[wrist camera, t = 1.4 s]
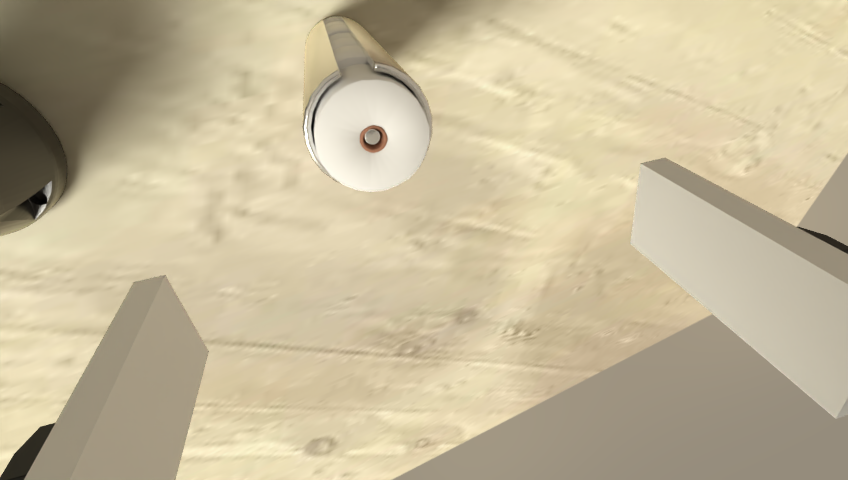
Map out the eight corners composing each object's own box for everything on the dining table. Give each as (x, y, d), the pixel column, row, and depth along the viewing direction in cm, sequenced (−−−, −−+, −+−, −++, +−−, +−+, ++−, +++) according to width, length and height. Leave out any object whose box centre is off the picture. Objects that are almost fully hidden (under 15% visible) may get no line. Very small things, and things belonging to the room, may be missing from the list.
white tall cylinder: (383, 32, 42) (458, 94, 21) (362, 98, 45) (410, 211, 24) (315, 4, 40) (324, 42, 19) (296, 76, 43) (287, 179, 22)
